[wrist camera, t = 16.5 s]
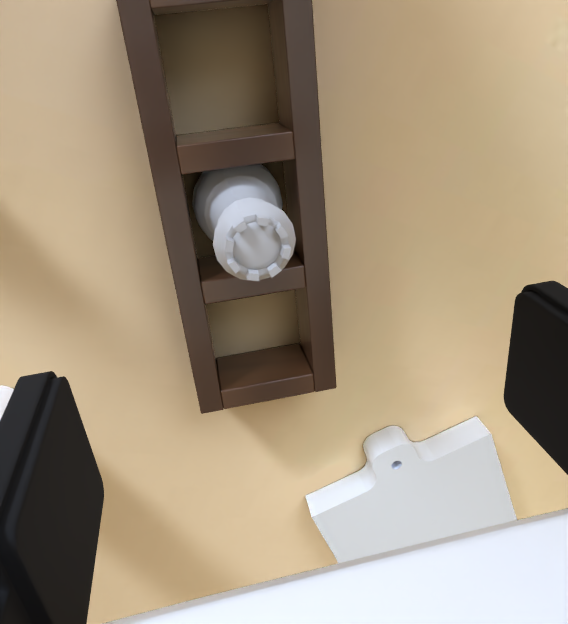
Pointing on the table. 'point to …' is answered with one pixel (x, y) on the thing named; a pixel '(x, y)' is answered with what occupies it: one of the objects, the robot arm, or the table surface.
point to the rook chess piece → (244, 220)
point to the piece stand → (235, 153)
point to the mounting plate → (414, 492)
